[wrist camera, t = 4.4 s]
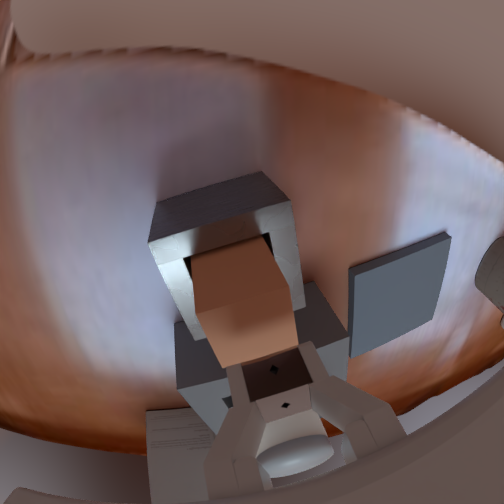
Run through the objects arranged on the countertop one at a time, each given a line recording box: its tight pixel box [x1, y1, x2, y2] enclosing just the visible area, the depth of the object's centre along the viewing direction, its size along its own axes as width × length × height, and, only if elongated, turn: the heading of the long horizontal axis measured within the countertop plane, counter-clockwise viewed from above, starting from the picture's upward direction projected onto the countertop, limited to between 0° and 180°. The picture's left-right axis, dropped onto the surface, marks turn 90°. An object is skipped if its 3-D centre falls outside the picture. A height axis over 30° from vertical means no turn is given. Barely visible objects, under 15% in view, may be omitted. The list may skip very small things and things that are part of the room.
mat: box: [348, 232, 452, 358], centre depth 25 cm, size 11×11×1 cm
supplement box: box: [146, 407, 217, 504], centre depth 23 cm, size 7×7×13 cm
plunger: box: [191, 234, 299, 368], centre depth 13 cm, size 3×3×6 cm
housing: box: [174, 281, 350, 435], centre depth 22 cm, size 11×11×6 cm
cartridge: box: [256, 409, 334, 478], centre depth 19 cm, size 5×5×11 cm
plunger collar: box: [148, 171, 306, 341], centre depth 16 cm, size 6×6×5 cm
